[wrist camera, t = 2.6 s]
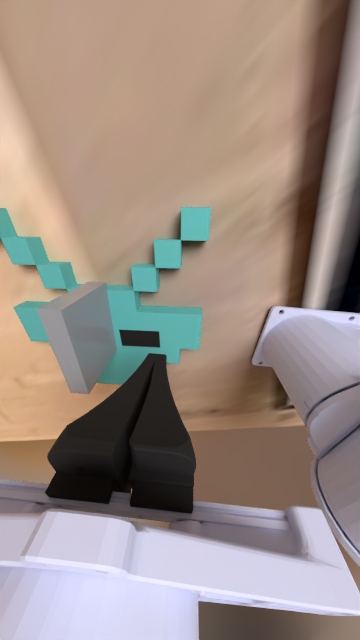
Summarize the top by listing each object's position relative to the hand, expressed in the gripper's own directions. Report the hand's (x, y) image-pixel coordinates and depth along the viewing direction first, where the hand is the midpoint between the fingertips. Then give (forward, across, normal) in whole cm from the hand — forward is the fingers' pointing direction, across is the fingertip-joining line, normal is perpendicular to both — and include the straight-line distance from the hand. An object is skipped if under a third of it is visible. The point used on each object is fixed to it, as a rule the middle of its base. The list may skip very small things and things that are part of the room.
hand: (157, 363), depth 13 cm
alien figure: (+8, +6, 0) cm, 10 cm away
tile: (+5, +7, 0) cm, 9 cm away
